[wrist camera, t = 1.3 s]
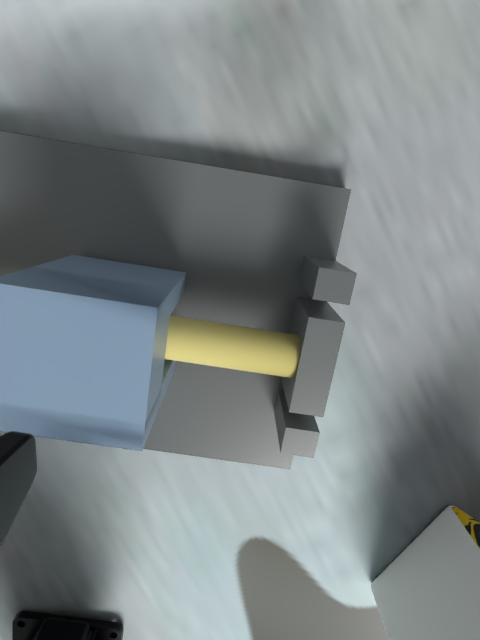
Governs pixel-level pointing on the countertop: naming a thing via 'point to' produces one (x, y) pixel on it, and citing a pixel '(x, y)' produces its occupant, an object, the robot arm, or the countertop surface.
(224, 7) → the countertop surface
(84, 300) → the sleeve
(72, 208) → the sliding rail with carriage
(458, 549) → the medicine bottle
